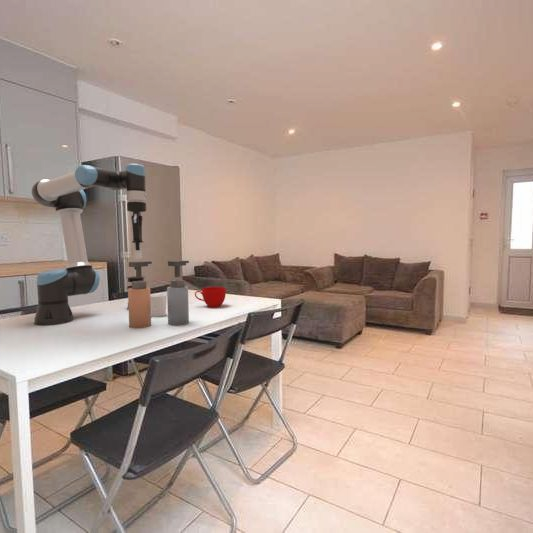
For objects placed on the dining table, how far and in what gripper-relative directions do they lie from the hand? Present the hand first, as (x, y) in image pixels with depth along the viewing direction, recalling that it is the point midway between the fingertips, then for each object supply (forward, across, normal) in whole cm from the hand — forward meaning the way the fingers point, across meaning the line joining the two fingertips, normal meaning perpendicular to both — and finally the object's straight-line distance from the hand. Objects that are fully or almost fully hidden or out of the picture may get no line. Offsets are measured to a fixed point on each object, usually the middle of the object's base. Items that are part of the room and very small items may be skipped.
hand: (138, 258), depth 152 cm
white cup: (+29, +20, -6) cm, 36 cm away
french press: (+29, +41, +7) cm, 51 cm away
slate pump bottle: (+29, +1, -16) cm, 33 cm away
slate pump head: (+9, +2, -17) cm, 19 cm away
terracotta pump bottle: (+29, 0, 0) cm, 29 cm away
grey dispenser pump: (+9, +1, -1) cm, 9 cm away
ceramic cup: (+29, +37, -32) cm, 57 cm away
